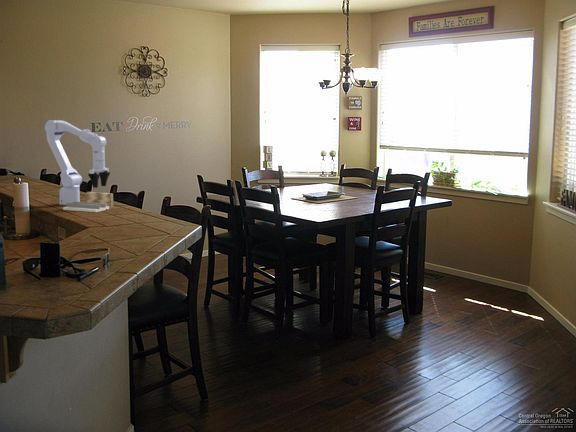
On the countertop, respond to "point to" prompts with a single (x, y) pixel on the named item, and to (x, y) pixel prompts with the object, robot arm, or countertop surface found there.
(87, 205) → the track plinth
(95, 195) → the door panel
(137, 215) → the countertop surface
